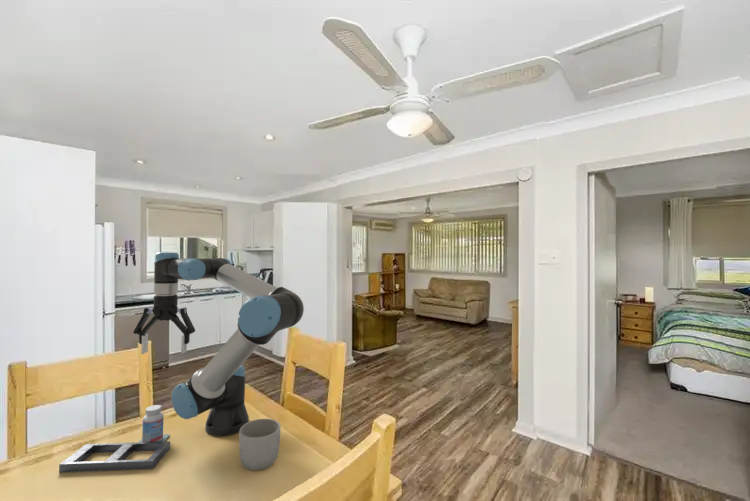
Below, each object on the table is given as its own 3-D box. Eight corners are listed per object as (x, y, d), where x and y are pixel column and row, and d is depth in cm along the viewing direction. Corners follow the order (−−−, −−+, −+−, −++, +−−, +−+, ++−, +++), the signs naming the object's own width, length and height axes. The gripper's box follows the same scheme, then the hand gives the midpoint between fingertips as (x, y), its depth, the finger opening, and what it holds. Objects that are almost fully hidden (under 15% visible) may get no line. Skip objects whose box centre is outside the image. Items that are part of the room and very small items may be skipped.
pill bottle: (153, 446, 117) (154, 412, 117) (137, 444, 118) (138, 410, 118) (167, 437, 123) (167, 404, 123) (152, 435, 124) (152, 403, 124)
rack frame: (170, 448, 117) (170, 441, 117) (152, 469, 106) (153, 460, 106) (85, 451, 114) (86, 443, 114) (59, 472, 103) (59, 464, 103)
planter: (237, 455, 114) (238, 422, 114) (276, 448, 118) (277, 415, 119) (239, 478, 102) (240, 441, 102) (282, 469, 107) (283, 433, 107)
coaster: (169, 435, 125) (169, 434, 125) (158, 448, 117) (158, 446, 117) (145, 436, 124) (145, 434, 124) (132, 449, 116) (132, 447, 116)
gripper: (205, 293, 133) (204, 349, 132) (135, 292, 130) (133, 350, 130) (197, 296, 125) (196, 355, 125) (123, 295, 123) (121, 356, 122)
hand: (164, 352), depth 127 cm, fingers open, 13 cm apart
